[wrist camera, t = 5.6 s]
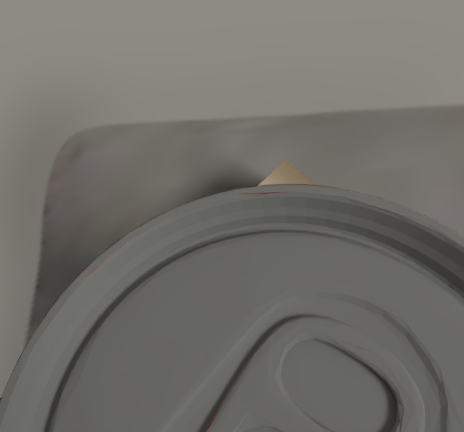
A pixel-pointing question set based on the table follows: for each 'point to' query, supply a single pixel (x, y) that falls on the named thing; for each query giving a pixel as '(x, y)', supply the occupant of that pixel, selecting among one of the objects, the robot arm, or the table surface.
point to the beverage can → (256, 323)
